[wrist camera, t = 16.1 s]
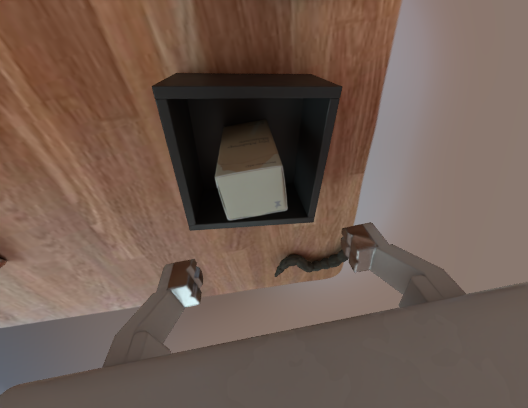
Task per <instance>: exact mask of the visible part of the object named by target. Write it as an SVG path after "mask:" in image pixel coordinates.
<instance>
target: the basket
mask: <svg viewBox="0 0 528 408" xmlns="http://www.w3.org/2000/svg"><path fill="white" fill-rule="evenodd" d="M152 89H153V93H154V97H155V99H156V104H157V108H158V111H159V115H160V119H161V123H162V127H163V130H164V134H165V138H166V142H167V146H168V149H169V153H170V157H171V161H172V165H173V168H174V172H175V176H176V180H177V183H178V187H179V191H180V195H181V199H182V202H183V206H184V210H185V214H186V218H187V221H188V225H189V229H190V230H205V229H220V228H235V227H250V226H265V225H280V224H295V223H310V222H314V217H315V212H316V207H317V203H318V198H319V193H320V189H321V184H322V179H323V175H324V170H325V165H326V160H327V156H328V151H329V146H330V142H331V137H332V132H333V128H334V123H335V118H336V113H337V109H338V104H339V98H340V95H341V91H342V86H339V85H337V84H334V83H332V82H329V81H327V80H325V79H322V78H320V77H317V76H315V75H312V74H224V73H176V74H173V75H172V76H170V77H168V78H166V79H164V80H163V81H161V82H159V83H157V84H155V85H153V86H152ZM260 120H267V122H268V125H269V128H270V131H271V134H272V137H273V140H274V142H275V145H276V148H277V151H278V154H279V157H280V160H281V163H282V166H283V172H284V179H285V186H286V195H287V207H288V209H287V210H286V211H280V212H275V213H270V214H265V215H260V216H254V217H248V218H242V219H236V220H228V219H227V217H226V214H225V211H224V208H223V205H222V201H221V198H220V195H219V192H218V188H217V185H216V181H215V174H216V168H217V162H218V156H219V150H220V144H221V138H222V132H223V128H224V127H227V126H232V125H237V124H243V123H248V122H254V121H260Z"/></svg>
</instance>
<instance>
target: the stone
mask: <svg viewBox="0 0 528 408" xmlns="http://www.w3.org/2000/svg"><path fill="white" fill-rule="evenodd" d="M6 262H7V261H5V260H3V259H0V268H1V267H2V266H3V265H5V264H6Z"/></svg>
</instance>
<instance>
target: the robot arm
mask: <svg viewBox="0 0 528 408" xmlns="http://www.w3.org/2000/svg"><path fill="white" fill-rule="evenodd" d="M342 235H343V237H342V238H341V246H342V250H343V252H344V254H345V256H347V257H349V264H350V265H351V267H352V269H353V271H354V272H361V271H367V270H371V271H372V272H373V273H374V274H376V275H377V276H378V277H380V278H381V279H383V280H384V281H385V282H387V283H388V284H389V285H391V286H392V287H393V288H395V289H396V290H398V291H399V292H400V293H402V294H403V297H402V299H401V301H400V303H399V307H400V308H395V309H390V310H386V311H380V312H376V313H371V314H366V315H361V316H356V317H351V318H346V319H341V320H336V321H331V322H326V323H321V324H316V325H311V326H306V327H301V328H296V329H291V330H286V331H281V332H276V333H271V334H266V335H261V336H256V337H251V338H246V339H241V340H237V341H232V342H227V343H222V344H217V345H212V346H207V347H202V348H197V349H192V350H187V351H182V352H177V353H172V354H171V351H170V349H168V348H167V347H166V346H164V345H163V343H164V341H165V339H166V338H167V336H168V335H169V333H170V332H171V330H172V328H173V327H174V325H175V323H176V322H177V320H178V319H179V317H180V315H181V314H182V312H183V310H184V309H185V307H189V306H194V305H198V304H200V301H201V293H202V292H201V291H200V287H201V286H202V285H203V274H202V271H201V269H200V268H199V267H197V266H196V265H197V262H196V261H195V259H192V260H186V261H181V262H175V263H170V264H166V265H165V266H164V268H163V271H162V275H161V278H160V281H159V284H158V288H157V291H156V293H153V294H152V295H151V296H150V297H149V298H148V300H147V301H146V302H145V303H144V304H143V305H142V306H141V307H140V309H139V310H138V311H137V312H136V313H135V314H134V315H133V316H132V317H131V319H130V320H129V321H128V322H127V323H126V324H125V325H124V326H123V328H122V329H121V330H120V331H119V332H118V333H117V334H116V335H115V337H114V340H113V342H112V345H111V347H110V350H109V352H108V355H107V357H106V360H105V362H104V365H103V367H102V368H98V369H93V370H88V371H83V372H79V373H73V374H68V375H63V376H58V377H53V378H48V379H43V380H38V381H33V382H28V383H23V384H19V385H16V386H13V387H11V388H9V389H8V390H6V391H5V392H4V393H3V394H1V395H0V408H528V282H525V283H519V284H514V285H509V286H504V287H499V288H494V289H490V290H484V291H480V292H475V293H469V294H466V293H465V292H464V291H463V290H462V289H461V288H460V287H459V286H458V285H457V283H456V282H455V281H454V280H453V279H452V278H451V277H450V276H449V275H448V274H447V273H446V272H445V271H444V269H442V268H440V267H438V266H436V265H434V264H431V263H429V262H427V261H425V260H423V259H421V258H419V257H417V256H415V255H413V254H411V253H409V252H407V251H405V250H403V249H401V248H399V247H397V246H395V245H393V244H391V245H389V244H388V242H387V241H386V240H385V239H384V237H383V236H382V235H381V234H380V232H379V231H378V230H377V228H376V227H375V226H374V225H373V223H371V222H370V223H365V224H361V225H355V226H351V227H346V228H343V229H342Z"/></svg>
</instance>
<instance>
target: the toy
mask: <svg viewBox="0 0 528 408" xmlns="http://www.w3.org/2000/svg"><path fill="white" fill-rule="evenodd" d="M348 259H349V257H347V256H345V254H344V252H343V250H341V251H339V252H338V254H334V255H331V256H330V257H329V258H323V259H322V260H321V261H314V262H312V263H311V262H309V261H306V259H305V258H303V257H302V256H299V255H289V256H288V257H286V258H285V259H283V260H282V261H281V262H280V265H279V266H278V267H277V270H276V273H275V277H277V276H278V275H279V274H280V273H282V272H283V271H284V269H286V268H288V267H289V266H295V265H297V266H298V267H299V268H301V269H302V270H304V271H306V272H312V271H319V270H321V269H329V268H330V267H337V266H339V265H340V264H341V263H342V262H345V261H346V260H348Z"/></svg>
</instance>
